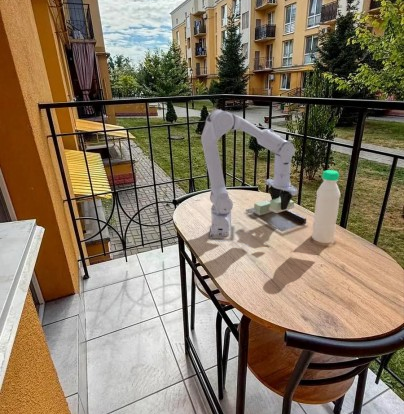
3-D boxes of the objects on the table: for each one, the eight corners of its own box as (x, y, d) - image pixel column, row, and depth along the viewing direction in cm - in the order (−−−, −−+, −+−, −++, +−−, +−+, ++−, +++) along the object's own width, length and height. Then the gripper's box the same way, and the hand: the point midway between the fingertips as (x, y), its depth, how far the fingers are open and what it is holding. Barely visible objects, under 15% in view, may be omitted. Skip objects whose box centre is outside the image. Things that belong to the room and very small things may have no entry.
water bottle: (335, 247, 92) (346, 175, 84) (313, 245, 94) (321, 174, 85) (331, 236, 99) (340, 168, 90) (309, 235, 100) (317, 168, 91)
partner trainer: (259, 215, 113) (259, 206, 112) (253, 212, 117) (253, 203, 115) (276, 210, 117) (277, 201, 116) (270, 207, 121) (270, 198, 119)
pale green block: (276, 213, 104) (276, 203, 102) (269, 209, 107) (269, 199, 106) (294, 207, 108) (294, 198, 106) (286, 204, 111) (287, 195, 110)
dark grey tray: (281, 235, 101) (282, 226, 100) (245, 213, 120) (245, 205, 118) (305, 226, 106) (306, 218, 105) (267, 206, 125) (267, 199, 123)
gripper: (305, 176, 98) (302, 211, 102) (276, 166, 110) (274, 198, 114) (290, 179, 95) (287, 216, 99) (262, 169, 107) (261, 202, 111)
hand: (279, 207), depth 107 cm, fingers closed on pale green block, 4 cm apart
